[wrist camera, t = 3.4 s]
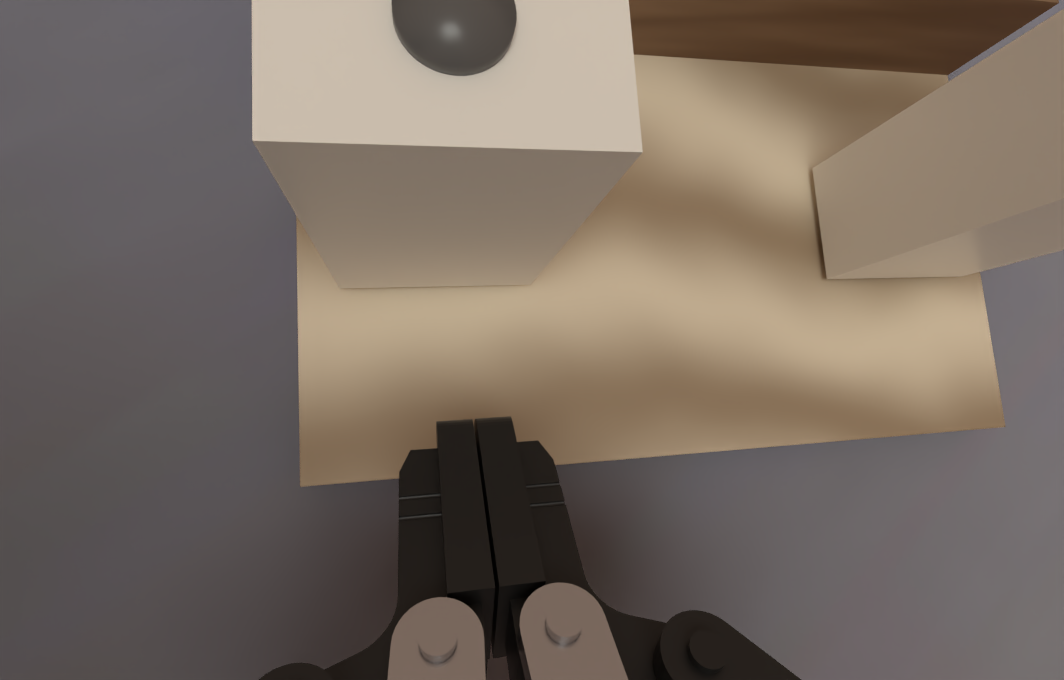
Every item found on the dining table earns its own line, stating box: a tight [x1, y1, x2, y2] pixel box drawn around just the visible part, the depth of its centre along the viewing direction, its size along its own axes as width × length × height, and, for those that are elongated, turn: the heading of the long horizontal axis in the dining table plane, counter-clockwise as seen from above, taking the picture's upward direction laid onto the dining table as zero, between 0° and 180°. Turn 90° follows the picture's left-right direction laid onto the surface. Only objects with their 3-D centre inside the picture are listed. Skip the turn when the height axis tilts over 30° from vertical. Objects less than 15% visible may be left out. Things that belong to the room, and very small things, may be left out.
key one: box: [252, 0, 643, 288], centre depth 13 cm, size 4×6×9 cm
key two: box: [812, 9, 1064, 279], centre depth 16 cm, size 4×6×9 cm
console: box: [296, 0, 1059, 487], centre depth 18 cm, size 15×24×5 cm, turn 94°
